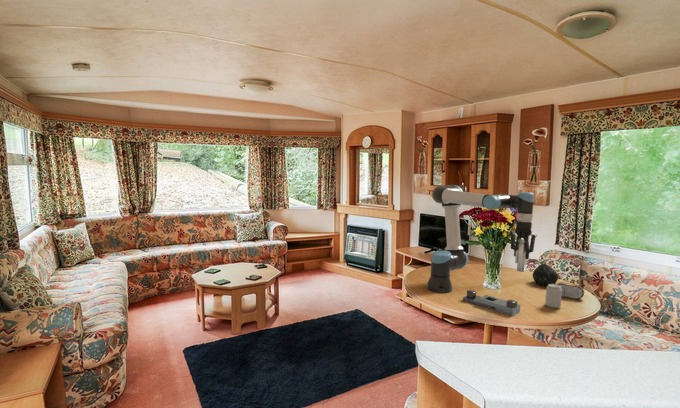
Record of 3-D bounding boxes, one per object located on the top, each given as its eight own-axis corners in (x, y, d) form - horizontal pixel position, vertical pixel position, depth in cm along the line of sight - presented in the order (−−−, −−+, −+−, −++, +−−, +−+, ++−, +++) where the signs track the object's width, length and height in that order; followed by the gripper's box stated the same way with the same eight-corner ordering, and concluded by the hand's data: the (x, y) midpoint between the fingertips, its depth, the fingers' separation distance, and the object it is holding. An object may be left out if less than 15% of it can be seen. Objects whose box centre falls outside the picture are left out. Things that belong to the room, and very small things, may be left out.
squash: (560, 275, 247) (544, 257, 249) (564, 282, 233) (548, 263, 235) (541, 286, 252) (526, 269, 254) (544, 294, 238) (528, 275, 240)
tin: (583, 299, 218) (584, 285, 217) (583, 300, 215) (585, 286, 214) (554, 294, 225) (555, 280, 225) (553, 295, 223) (555, 282, 222)
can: (552, 309, 201) (554, 288, 200) (541, 304, 208) (543, 283, 207) (563, 308, 203) (565, 287, 202) (552, 303, 210) (554, 282, 209)
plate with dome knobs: (463, 300, 211) (463, 290, 210) (471, 297, 217) (471, 287, 216) (512, 316, 190) (513, 305, 189) (519, 312, 196) (520, 301, 195)
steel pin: (514, 270, 201) (516, 239, 199) (517, 269, 204) (520, 238, 202) (522, 272, 198) (525, 241, 196) (526, 271, 201) (528, 240, 199)
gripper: (505, 219, 202) (502, 261, 204) (537, 223, 189) (533, 268, 192) (511, 218, 207) (508, 259, 209) (543, 222, 194) (539, 265, 197)
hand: (520, 263), depth 201 cm, fingers closed on steel pin, 3 cm apart
